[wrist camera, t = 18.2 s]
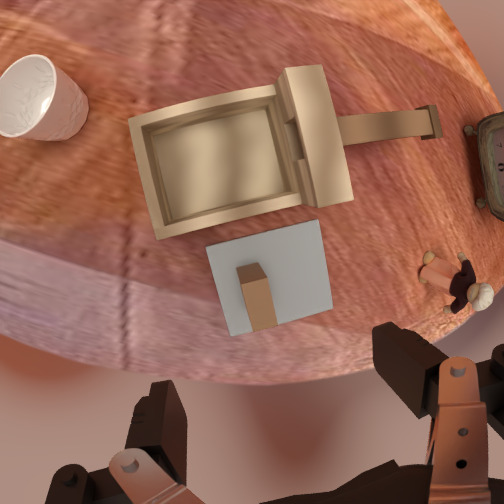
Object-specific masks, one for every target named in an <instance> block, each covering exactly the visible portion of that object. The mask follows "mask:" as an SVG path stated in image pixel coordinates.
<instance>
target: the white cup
mask: <svg viewBox="0 0 504 504" xmlns="http://www.w3.org/2000/svg"><path fill="white" fill-rule="evenodd" d="M88 111H89V105H88V98H87V96H86V95H85V93H84V92H83V91H82V89H81V88H80V87H78V85H77V84H76V83H75V82H74V81H73V80H72V79H71V78H70V77H69V76H68V75H67V74H65V73H64V72H63V71H62V70H61V69H60V68H58V67H57V66H56V65H55V64H54V63H53V62H52V61H50V60H49V59H48V58H47V57H45V56H42V55H37V54H34V55H28V56H25V57H23V58H21V59H19V60H17V61H16V62H14V63H13V64H12V65H11V66H10V67H9V68H8V69H7V70H6V71H5V72H4V73H3V75H2V76H1V78H0V134H1V135H3V136H6V137H12V138H23V139H31V140H44V141H50V140H51V141H61V140H67V139H69V138H70V137H72V136H73V135H75V134H76V133H78V132H79V130H80V129H81V127H82V126H83V124H84V123H85V122H86V118H87V114H88Z"/></svg>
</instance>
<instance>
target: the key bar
mask: <svg viewBox="0 0 504 504" xmlns="http://www.w3.org/2000/svg"><path fill="white" fill-rule="evenodd" d="M336 119H337V123H338V127H339V131H340V135H341V140H342V144H343V146H348V145H355V144H362V143H368V142H376V141H383V140H391V139H399V138H407V137H416V136H421V140H426V139H434V138H442V137H443V134H442V129H441V124H440V120H439V116H438V111H437V107H436V105H427V106H423V107H420V108H416V109H415V110H408V111H393V112H380V113H369V114H360V115H350V116H342V117H336Z"/></svg>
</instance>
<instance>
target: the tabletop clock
mask: <svg viewBox="0 0 504 504" xmlns="http://www.w3.org/2000/svg"><path fill="white" fill-rule="evenodd" d="M464 132H465V134H466V135H468V136H472V135H473V134H475V135H477V143H478V150H479V158H480V166H481V173H482V178H483V183H484V189H485V194H486V198H485V199H484V198H478V199H477V201H476V205H477V206H478V208H484V207H485V205H486V202H487V203H488V206H489V209H490V212H491V214H492V215H494V216H495V217H496V218H498V219H499V220H501V221H503V222H504V112H500V113H496V114H492V115H489V116H487V117H485V118H483V119H482V120H481V121H480V122H479V123H478V124H477V131H474V128H473V127H472V126H471V125H467V126H465V128H464Z"/></svg>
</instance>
